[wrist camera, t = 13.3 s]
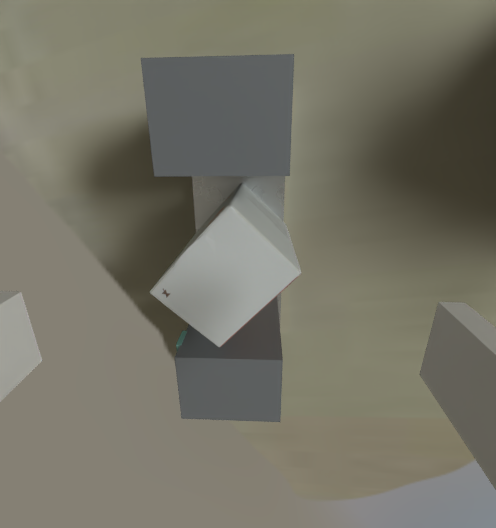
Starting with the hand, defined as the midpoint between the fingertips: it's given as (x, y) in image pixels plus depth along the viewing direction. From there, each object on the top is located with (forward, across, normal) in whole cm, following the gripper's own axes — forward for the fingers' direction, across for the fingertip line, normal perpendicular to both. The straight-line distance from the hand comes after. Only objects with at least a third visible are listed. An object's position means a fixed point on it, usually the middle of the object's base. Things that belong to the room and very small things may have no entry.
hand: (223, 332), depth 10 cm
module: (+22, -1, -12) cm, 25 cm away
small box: (+22, -1, -3) cm, 22 cm away
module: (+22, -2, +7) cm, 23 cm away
